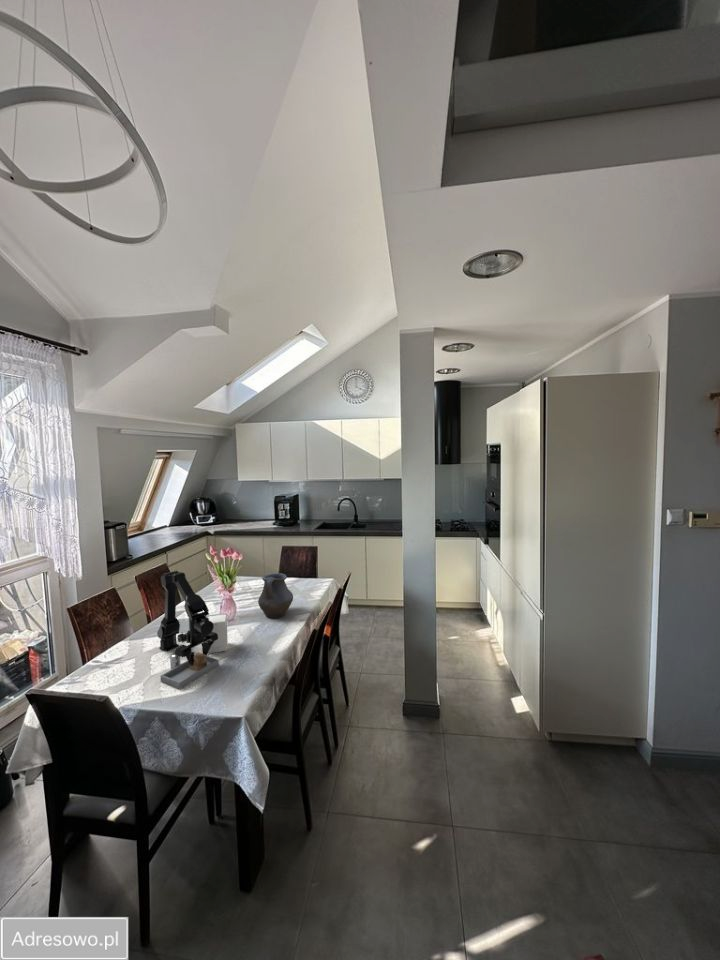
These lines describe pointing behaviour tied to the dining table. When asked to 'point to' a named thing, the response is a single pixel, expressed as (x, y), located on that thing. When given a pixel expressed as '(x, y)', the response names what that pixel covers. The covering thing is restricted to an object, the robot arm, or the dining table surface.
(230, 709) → the dining table surface
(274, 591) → the pitcher
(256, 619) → the dining table surface
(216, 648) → the supplement box
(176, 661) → the steel peg
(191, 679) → the tray
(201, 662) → the walnut block
